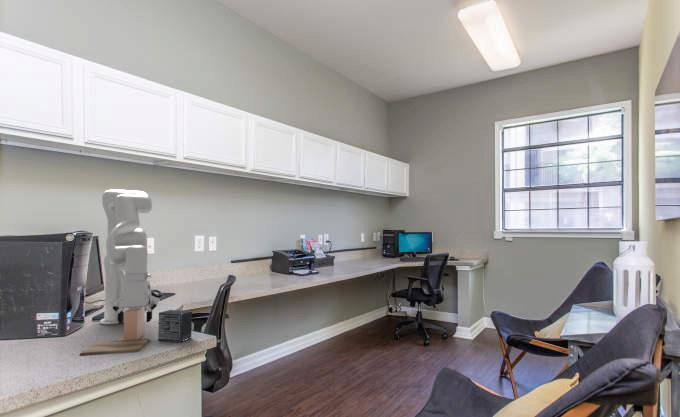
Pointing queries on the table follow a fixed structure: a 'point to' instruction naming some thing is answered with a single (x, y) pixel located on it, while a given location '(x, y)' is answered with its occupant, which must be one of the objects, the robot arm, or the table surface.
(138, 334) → the tan wooden block
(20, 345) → the table surface
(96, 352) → the walnut board
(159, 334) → the small box
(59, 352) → the table surface
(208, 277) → the table surface
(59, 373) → the table surface
